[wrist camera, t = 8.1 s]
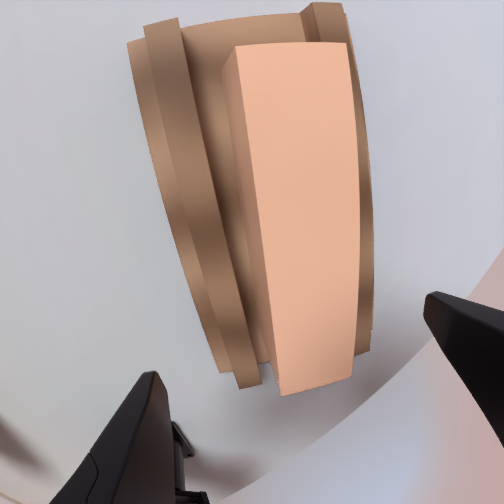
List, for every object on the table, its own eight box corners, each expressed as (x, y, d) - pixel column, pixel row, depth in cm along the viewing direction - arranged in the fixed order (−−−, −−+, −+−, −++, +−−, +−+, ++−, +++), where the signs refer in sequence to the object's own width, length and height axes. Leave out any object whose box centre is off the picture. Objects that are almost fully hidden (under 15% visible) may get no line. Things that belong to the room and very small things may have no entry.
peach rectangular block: (316, 316, 21) (351, 376, 16) (259, 330, 21) (281, 396, 16) (296, 64, 15) (346, 43, 9) (221, 70, 14) (235, 46, 9)
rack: (366, 322, 24) (383, 345, 21) (218, 364, 23) (222, 393, 20) (338, 17, 14) (361, 4, 12) (130, 46, 14) (117, 33, 11)
